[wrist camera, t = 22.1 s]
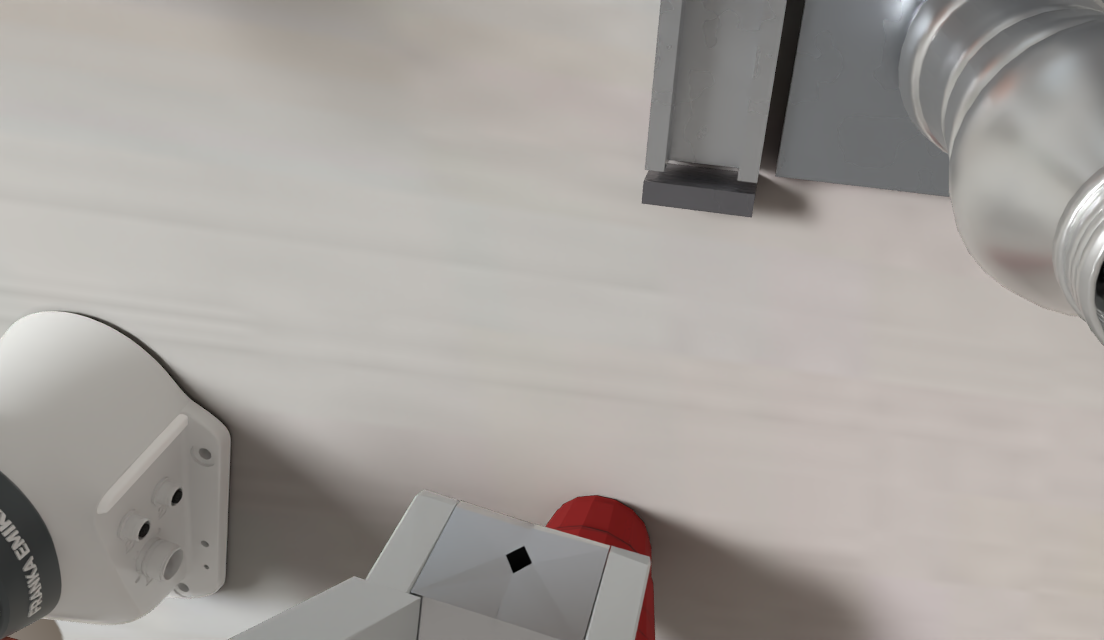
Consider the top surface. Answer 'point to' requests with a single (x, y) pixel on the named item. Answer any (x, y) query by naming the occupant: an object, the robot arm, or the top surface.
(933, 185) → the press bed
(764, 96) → the rail
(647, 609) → the plastic cup
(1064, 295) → the plastic bottle
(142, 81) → the top surface
